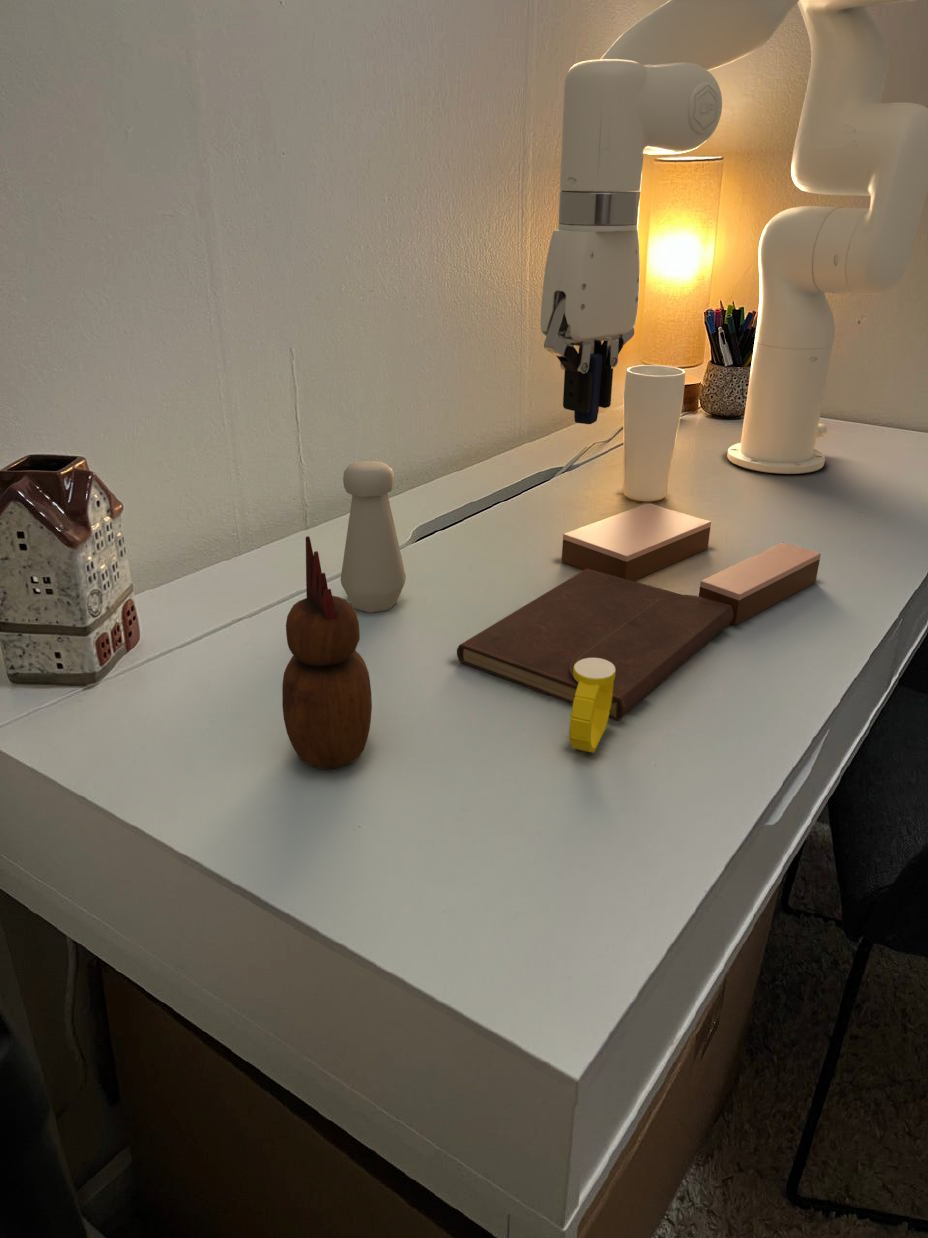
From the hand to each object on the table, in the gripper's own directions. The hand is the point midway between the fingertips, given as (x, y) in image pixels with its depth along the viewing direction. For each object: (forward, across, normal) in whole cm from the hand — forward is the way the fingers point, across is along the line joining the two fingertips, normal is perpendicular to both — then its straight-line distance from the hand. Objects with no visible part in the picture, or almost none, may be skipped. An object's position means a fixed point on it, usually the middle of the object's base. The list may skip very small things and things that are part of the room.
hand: (586, 406), depth 95 cm
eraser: (+2, 0, 0) cm, 2 cm away
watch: (+14, +31, +27) cm, 44 cm away
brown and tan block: (+14, +1, +8) cm, 16 cm away
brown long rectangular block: (+14, +1, +22) cm, 26 cm away
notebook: (+14, +19, +18) cm, 30 cm away
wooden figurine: (+14, +45, +16) cm, 50 cm away
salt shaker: (+14, +28, -1) cm, 31 cm away
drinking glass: (+14, -15, -2) cm, 21 cm away
